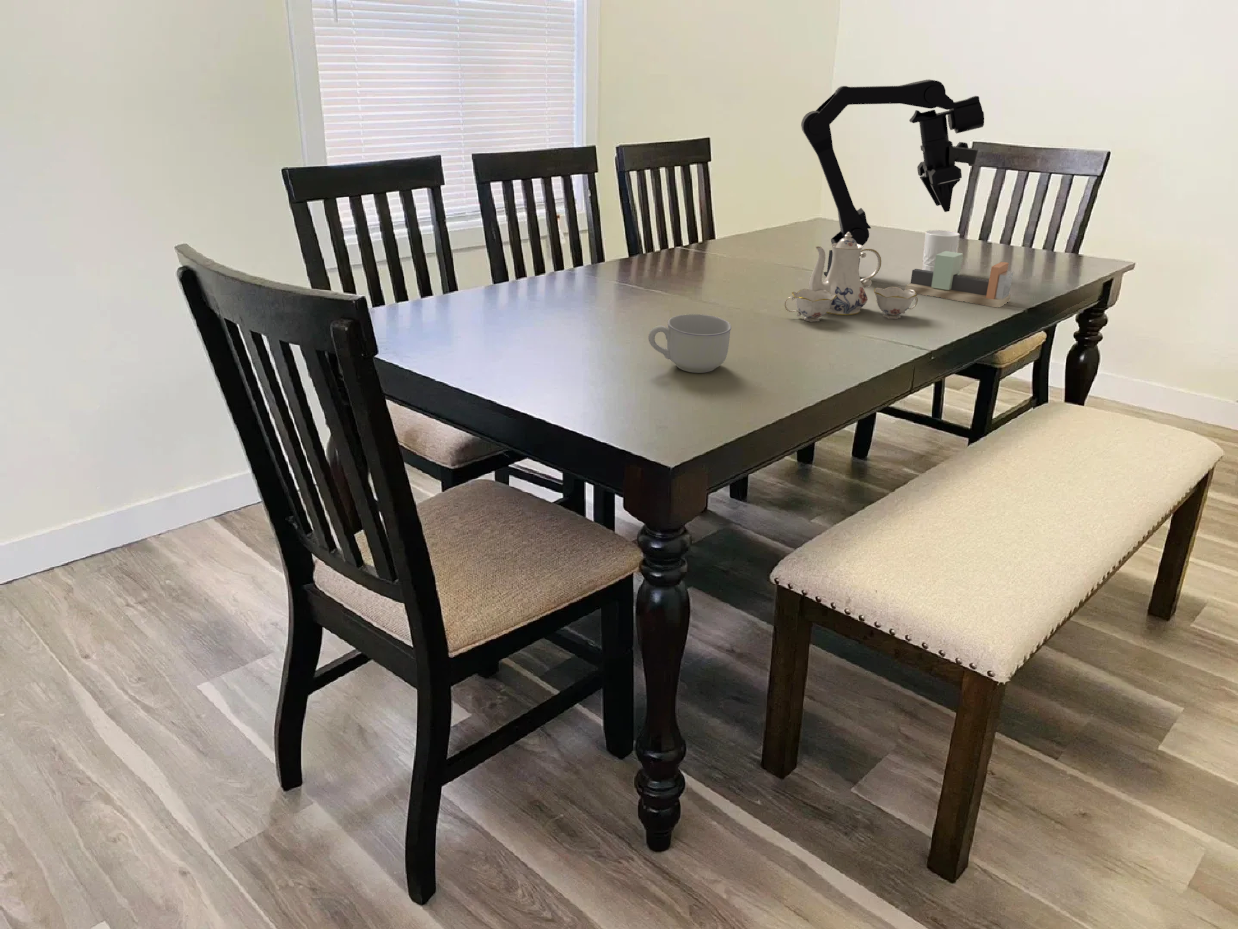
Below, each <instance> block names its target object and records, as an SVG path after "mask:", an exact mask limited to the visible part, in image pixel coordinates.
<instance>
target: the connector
mask: <svg viewBox="0 0 1238 929" xmlns="http://www.w3.org/2000/svg"><path fill="white" fill-rule="evenodd" d="M1013 275H1014V271H1009V270H1007V271H1006V272H1004V273H1002V274H1000V275H999V280H998V286H997V291H996V296H995V299H1000V300H1002V299H1004V298H1006V297H1007V296H1009V295H1010V291H1011V286H1012V280H1013Z"/></svg>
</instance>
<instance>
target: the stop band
mask: <svg viewBox="0 0 1238 929" xmlns="http://www.w3.org/2000/svg"><path fill="white" fill-rule="evenodd" d="M1009 264H1010V263H1009V262H1004V261H1000V262H998V263H995V264H994V265H992V266H991V268H990V274H989V279H988V280H989V284H988V289H987V295H986V298H988V299H995V296H996V291H997V286H998V280H999V275H1000V274H1002V273H1004V272H1006V271H1009V270H1008V269H1009Z"/></svg>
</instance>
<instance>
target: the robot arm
mask: <svg viewBox="0 0 1238 929" xmlns="http://www.w3.org/2000/svg"><path fill="white" fill-rule="evenodd" d="M886 104H887V105H893V104H894V105H895V104H896V105H897V104H900V105H906V106H907V105H908V106H911V107H912V106H913V107H919V108H925V109H931V110H927V111H923V112H921V111H920V110H915V111H914V113H913V115H912V116H911V118H910V119H909V122H910V123H912V124H916V123H919V124H918V125H919V131H920V139H921V140H920V141H921V145H920V147H919V148H920V151H921V152H922V155H923V156H922V158H923V161H920V162H919V164H918V165H917V167H916V168H917V175H918V176H919V178H920V180H921V182H922V184H923V185H924V187H925V189H926V190H927V192H928V194H929V195H930V197H931V198H932V200H933V203H934V205H935V206H937V207H939V206H941V208H942V210H943V211H944V213H947V212H950V211H951V205H952V197H953V191H954V187H955V186H956V185H957V183H960V181H961V179H962V169H961V168H960V167H959V166H957V165H956V163H963V164H968V165H970V166H971V165H972V166H974V165H975V164H976V160H977V156H978V152H979V150H978V149H976V148H972V147H969V146H968V145H969V144H968V143H967V142H962V141H959V142H958V143H956V144H957V145H955V146H954V145H953V142H952V141H951V140H950V139H949V130H950V131H952V130H954V132H955V134H960V133H965V132H969V131H972V130H976V129H980V128H983V127H984V125H985V112H984V111H983V106H982V104H981V102H980V97H979V96H978V95H974V96H970V97H968V98H965V99H962V100H958V101H954V99H952V98H951V97H950V96H948V95H947V94H946V88H945V86H944V84H943V83H942V82H941V81H939V80H935V79H923V80H919V81H913V82H909V83H906V84H900V85H876V86H875V85H873V86H869V85H868V86H847V85H841V86H839V87H837V89H836V90H835V91H834V93H832V94H831V95H830V96H829V97H828V98H827V99H826V100H825V101H824V102H823V103H822V104H821V105H819V106H818V108H817V109H815V110H812V111H808V113H806V114H805V115H804V116H803V117H802V120H801V125H800V128H801V130H802V132H803V134H804V135H805V137H806V139H807V140H808V143H809V144H810V145H811V147H812V149H813V151H814V152H815V155H817V158H818V161H819V164H820V166H821V169H822V172H823V174H824V177H825V179H826V182H827V185H828V188H829V190H830V193H831V196H832V200H833V201H834V203H835V207H836V209H837V216H838V223H839V228H840V231H839V232H837V233H836V234H835V235H834V236H833V237H832V238H831V239H830V242H831V244H834V243H838V242H839V241H840V240H841V239H842V238H845V235H846V233H847V232H850V233H851V235H852V237H851V238H852V239H854V240H855V241H856V243H857V244H859V245H862V246H863V247H864V246H865V244H866V243H867V242H868V240H869V238H870V230H869V229H872V228H871V226H870V224H869V223H868V220H867V215H866V211H865V210H864V209H863V208H862V207H860V208H858V209H857V208H856V207H855V205H854V202H853V200H852V197H851V194H850V191H849V189H848V187H847V183H846V181H845V179H844V176H843V173H842V170H841V168H840V164H839V162H838V159H837V156H836V153H835V151H834V146H833V139H832V138H833V137H832V130H831V127H830V126H831V124H832V123H833V122H834V121H835V120H836V119H837V117H839V115H840V114H841V113H842V112H843V111H844V110H845V109H846V107H848V106H850V105H886ZM935 108H940V109H943V110H944V111H942V112H937V111H936V110H935ZM948 127H949V130H948ZM832 256H833V252H832V249H829V251H828V260H827V268H826V269H827V270H826V271H825V272H824V271H823V275H824V276H826V277H827V275H828V272H829V270H830V267H831V263H832ZM860 262H861V257H859V264H860Z"/></svg>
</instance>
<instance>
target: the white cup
mask: <svg viewBox="0 0 1238 929" xmlns="http://www.w3.org/2000/svg"><path fill="white" fill-rule="evenodd" d="M960 235H961V234H960V233H959V232H956V231H951V230H943V229H933V230H932V229H930V230H929V229H928V230H927V231H925V234H924V244H923V252H922V269H921V270H927V271H934V266H935V260H936V255H937V254H940V253H942V252H945V251H949V252H956V253H957V250H958V245H959V242H960V241H959V239H960Z"/></svg>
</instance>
